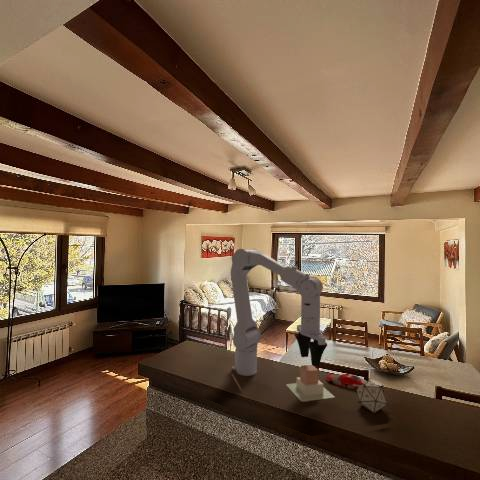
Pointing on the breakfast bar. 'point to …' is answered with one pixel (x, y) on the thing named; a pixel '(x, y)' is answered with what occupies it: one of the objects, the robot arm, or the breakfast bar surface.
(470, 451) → the breakfast bar surface
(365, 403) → the game die
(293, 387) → the build plate
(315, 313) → the robot arm
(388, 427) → the breakfast bar surface
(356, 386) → the race car
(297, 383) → the base brick
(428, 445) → the breakfast bar surface
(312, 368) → the top brick
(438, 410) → the breakfast bar surface
